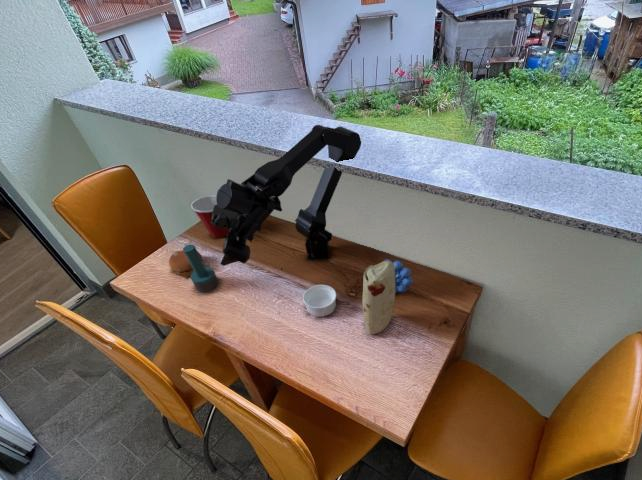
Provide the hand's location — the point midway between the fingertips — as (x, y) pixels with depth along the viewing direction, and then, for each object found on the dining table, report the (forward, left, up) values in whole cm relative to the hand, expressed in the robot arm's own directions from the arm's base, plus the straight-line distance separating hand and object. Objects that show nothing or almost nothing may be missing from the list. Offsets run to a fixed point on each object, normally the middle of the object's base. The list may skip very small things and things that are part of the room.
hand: (224, 253), depth 95 cm
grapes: (-47, +2, -11) cm, 48 cm away
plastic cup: (+13, -24, -11) cm, 29 cm away
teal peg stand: (+8, +2, -11) cm, 13 cm away
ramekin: (-27, +9, -11) cm, 31 cm away
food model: (-43, +15, -11) cm, 47 cm away
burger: (+17, -6, -11) cm, 21 cm away
